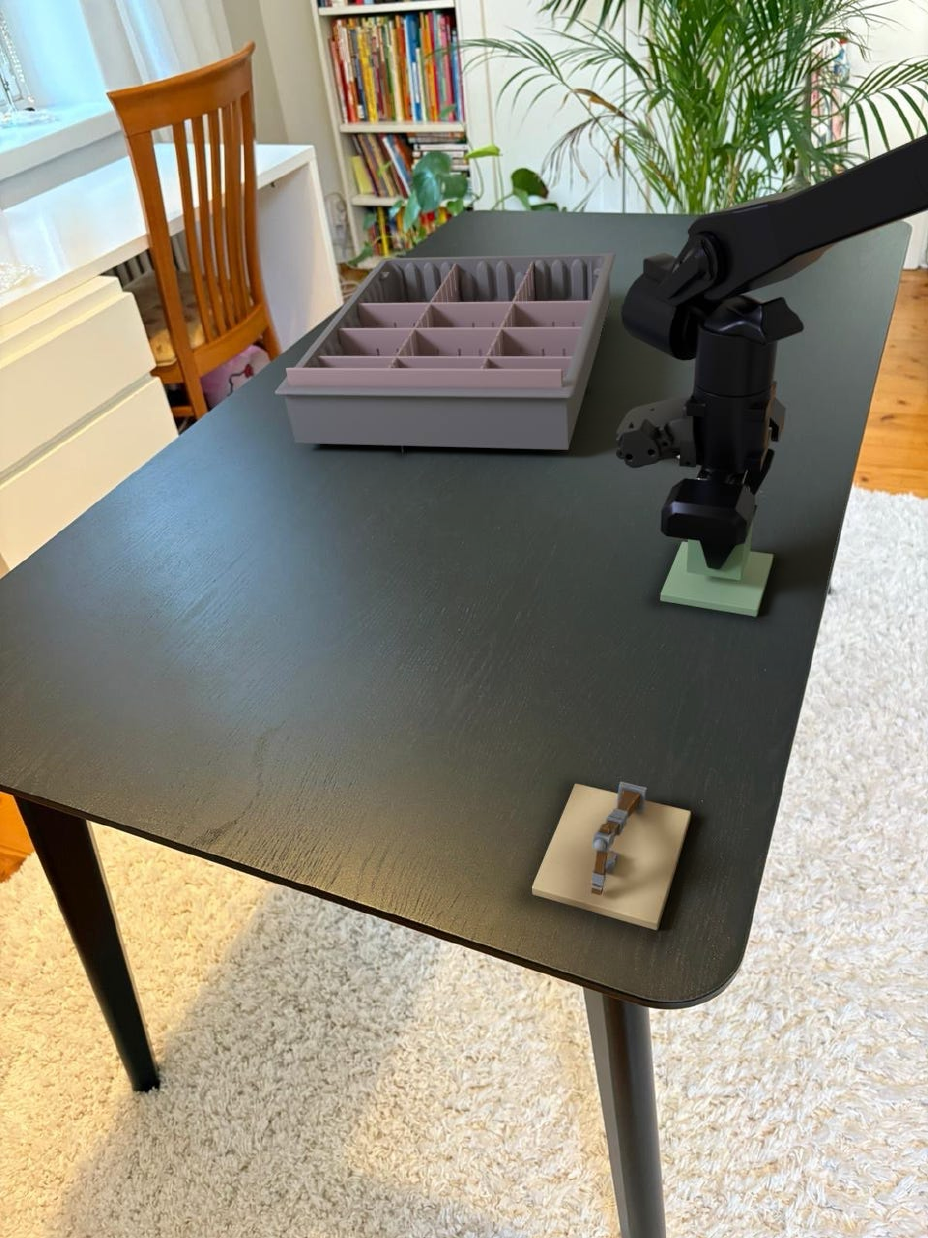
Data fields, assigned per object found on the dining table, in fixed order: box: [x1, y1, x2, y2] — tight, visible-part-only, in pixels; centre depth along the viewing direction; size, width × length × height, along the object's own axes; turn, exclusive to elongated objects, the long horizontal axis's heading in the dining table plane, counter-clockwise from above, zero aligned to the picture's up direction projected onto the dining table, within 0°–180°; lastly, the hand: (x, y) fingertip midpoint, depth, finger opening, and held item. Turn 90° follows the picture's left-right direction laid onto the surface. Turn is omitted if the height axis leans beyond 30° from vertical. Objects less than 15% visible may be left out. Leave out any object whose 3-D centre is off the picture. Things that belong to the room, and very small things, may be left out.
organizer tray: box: [274, 252, 616, 452], centre depth 117 cm, size 32×40×10 cm
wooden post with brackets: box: [591, 781, 648, 895], centre depth 61 cm, size 2×8×4 cm, turn 156°
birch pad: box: [531, 783, 692, 931], centre depth 63 cm, size 8×9×1 cm
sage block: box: [686, 517, 755, 580], centre depth 81 cm, size 4×4×4 cm
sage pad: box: [659, 541, 774, 617], centre depth 84 cm, size 8×8×1 cm
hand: (720, 551), depth 82 cm, fingers closed on sage block, 4 cm apart
